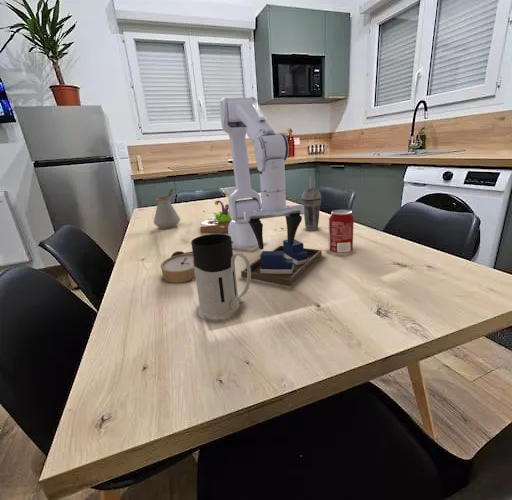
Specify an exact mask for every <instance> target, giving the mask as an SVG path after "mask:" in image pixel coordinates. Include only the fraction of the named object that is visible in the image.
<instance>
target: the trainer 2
mask: <svg viewBox="0 0 512 500" xmlns="http://www.w3.org/2000/svg"><path fill="white" fill-rule="evenodd" d="M282 246H283V250H284V257H285V258H287V259H293V263H295V264H297V265H300V264H304V263H306V262H307V261H308V260H309V259H308V253H307V252H305V251H304V248H305V247H304V243H303V242H301V241H299V240H297V239H295V238H294V243H293V245H290V244H289V243H288V240H287V239H283V240H282Z"/></svg>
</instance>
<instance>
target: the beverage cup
mask: <svg viewBox="0 0 512 500" xmlns="http://www.w3.org/2000/svg"><path fill="white" fill-rule="evenodd" d="M301 203H302V206H304V214H303V217H304V218H303V219H304V226H305V230H306V231H312V232H314V231H317V230H319V222H320V211H321V203H322V193H321V191H319V189H318V188H316V187H312V175H309V187H307V188H306V189H304V191H303V192H302V194H301Z"/></svg>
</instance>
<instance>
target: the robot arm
mask: <svg viewBox="0 0 512 500" xmlns="http://www.w3.org/2000/svg"><path fill="white" fill-rule="evenodd" d="M259 108H260V107H259V103H258V100H257V99H256V97H255V96H251V97H222V98H221V100H220V102H219V114H220V115H219V116H220V123H221V128H222V131H223V132H224V133H226V134H228V138H229V141H230V150H231V151H230V152H231V158H232V159H231V160H232V166H233V175H234V183H235V190H234V191H233V192H232V193H231V194H230V195H229V196H228V200H227V201H228V204H229V209H228V211H229V215H230V218H231V219H232V221H230V223H229V226H228V232H227V233H228V234H227V235H229V236H231V241H232V249H234V248H242V249H250V248H251V249H252V248H256V247H258V249H259V250H264V238H263V228H264V224H263V223H262V220H264V219H272V218H280V217H285V223H286V230H287V231H286V234H287V237H286V240H288V243H289V244H290V245H293V243H294V239H295V238H296V233H297V231H298V228H299V226H300V224H301V222H302V221H303V220H302V219H303V217H302V216H303V215H304V206H303V204H299V205H287V198H286V197H287V196H286V195H287V194H286V169H285V161H287V159H288V157H289V151H290V145H289V141H288V137H287V135H286V134H285V133H276V131H275V129H274V128H273V127H272V126H271V124H270V123H269V122H268V120H267V119H266V118H265V116H262V117H260V116H259V111H260V109H259ZM246 136H247V137H246ZM247 138H248V139H249V141H250V142H251V144H252V145H253V147H254V149H253V152H254V158H255V161H256V168H257V171H259V183H260V185H259V186H260V193H258V192H257V191H256V190H254V189H253V188H252V183H251V174H250V164H249V155H248V146H247Z"/></svg>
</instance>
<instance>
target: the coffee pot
mask: <svg viewBox="0 0 512 500" xmlns="http://www.w3.org/2000/svg"><path fill="white" fill-rule="evenodd" d="M173 190H174V191H175V189H174V188H171V189H170V190H169V193H168V195H167V196H161V197H157V198H155V201H157V206H156V210H155V214H154V219H153V224H154V225H155V226H156V227H157V228H159V229H161V230H163V229H165V230H166V229H172V228H175V227H177V225H179V223H180V221H181V218H180V216H179V215H178V213H177V211H176V210H175V208H174V205H172V203H171V199H172V195H173V194H172V193H174V191H173Z"/></svg>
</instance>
